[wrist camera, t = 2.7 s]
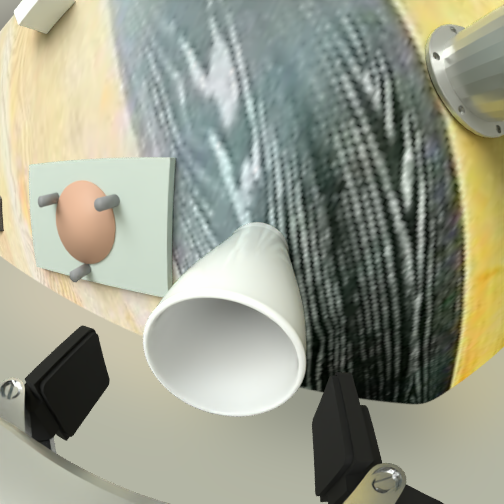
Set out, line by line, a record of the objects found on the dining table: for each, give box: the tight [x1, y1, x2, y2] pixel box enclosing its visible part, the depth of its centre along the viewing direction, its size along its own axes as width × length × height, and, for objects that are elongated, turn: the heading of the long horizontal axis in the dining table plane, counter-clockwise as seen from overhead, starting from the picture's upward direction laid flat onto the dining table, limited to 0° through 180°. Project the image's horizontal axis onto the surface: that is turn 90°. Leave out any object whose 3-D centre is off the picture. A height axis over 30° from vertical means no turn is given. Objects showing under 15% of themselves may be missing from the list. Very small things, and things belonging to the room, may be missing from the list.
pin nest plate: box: [29, 157, 176, 297], centre depth 23 cm, size 20×13×4 cm, turn 84°
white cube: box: [14, 0, 75, 34], centre depth 14 cm, size 6×6×6 cm
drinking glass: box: [143, 222, 306, 417], centre depth 17 cm, size 7×7×15 cm
